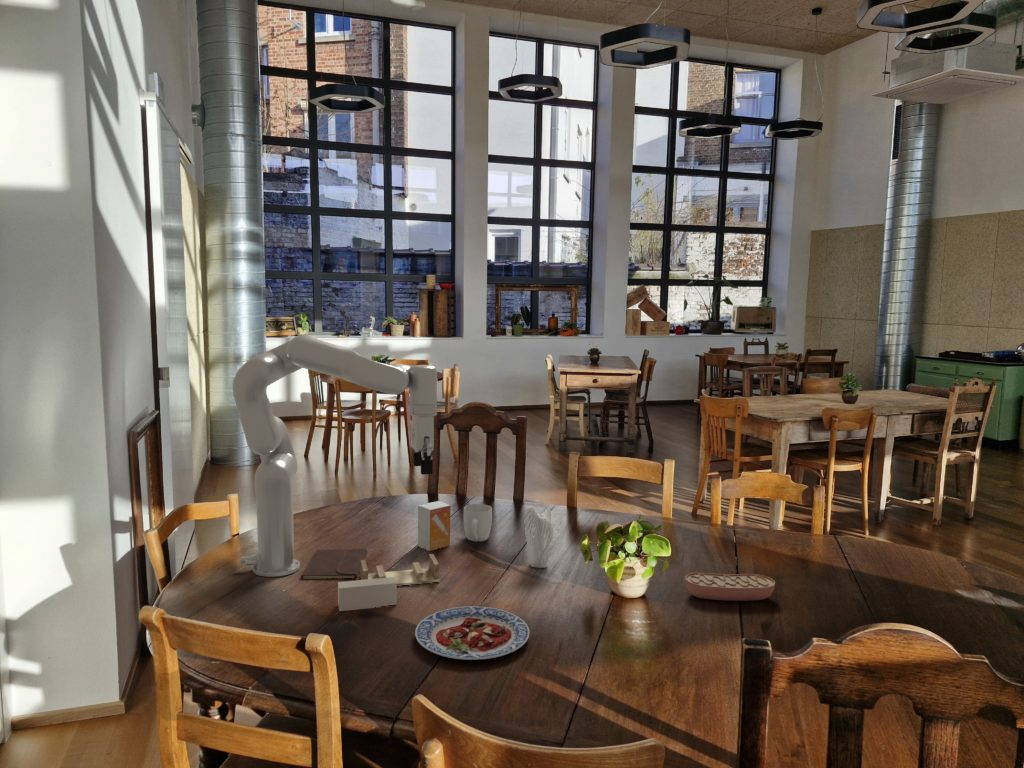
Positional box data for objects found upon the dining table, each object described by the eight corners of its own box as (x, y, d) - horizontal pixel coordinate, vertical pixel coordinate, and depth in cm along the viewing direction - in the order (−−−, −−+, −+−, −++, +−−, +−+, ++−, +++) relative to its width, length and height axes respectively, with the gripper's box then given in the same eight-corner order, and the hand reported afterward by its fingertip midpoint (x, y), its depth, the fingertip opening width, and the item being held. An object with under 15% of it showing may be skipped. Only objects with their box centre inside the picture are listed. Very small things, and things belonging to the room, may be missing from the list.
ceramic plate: (469, 605, 186) (469, 594, 186) (551, 637, 170) (552, 625, 170) (391, 641, 167) (391, 629, 166) (476, 681, 150) (476, 667, 150)
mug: (465, 533, 241) (466, 503, 240) (493, 534, 240) (493, 504, 239) (459, 546, 228) (459, 515, 227) (488, 548, 227) (488, 516, 226)
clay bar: (339, 611, 181) (338, 588, 181) (338, 605, 185) (338, 582, 184) (396, 606, 185) (396, 583, 184) (394, 599, 189) (394, 577, 188)
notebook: (300, 580, 201) (300, 573, 201) (316, 554, 220) (316, 548, 220) (356, 580, 202) (356, 573, 201) (367, 554, 221) (367, 548, 221)
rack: (363, 589, 194) (363, 571, 194) (360, 577, 203) (360, 559, 202) (439, 582, 200) (439, 564, 199) (432, 570, 208) (433, 553, 208)
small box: (429, 551, 223) (430, 509, 221) (417, 546, 228) (417, 505, 226) (450, 545, 229) (451, 504, 227) (437, 540, 233) (438, 500, 232)
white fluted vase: (553, 561, 217) (554, 501, 215) (552, 571, 209) (553, 509, 207) (525, 559, 218) (526, 499, 216) (522, 569, 210) (524, 508, 208)
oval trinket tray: (767, 592, 198) (768, 574, 198) (780, 607, 189) (781, 588, 188) (681, 589, 199) (682, 571, 198) (689, 605, 189) (690, 586, 188)
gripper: (404, 405, 214) (404, 463, 216) (415, 415, 197) (415, 478, 199) (429, 404, 216) (429, 462, 218) (443, 414, 200) (443, 476, 202)
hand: (422, 469), depth 209 cm, fingers open, 9 cm apart
